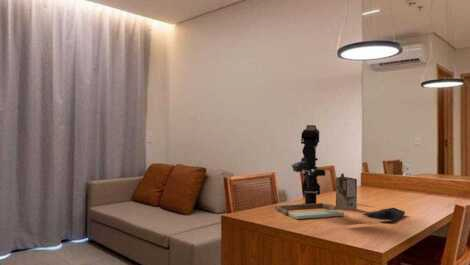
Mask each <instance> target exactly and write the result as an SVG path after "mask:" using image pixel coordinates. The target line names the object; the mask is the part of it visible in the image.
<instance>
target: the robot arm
mask: <svg viewBox="0 0 470 265" xmlns="http://www.w3.org/2000/svg"><path fill="white" fill-rule="evenodd" d="M300 136H301V137H300V138H301V140H300V144H301V145H303V147H302V150H301V151H302V154H303V157H301V159H300V160H301V161H298V162H295V163H292V164H291V167H292V170H293V172H296V173H300V175H302V176H303V177H304V178H303V182H301V183H302V185H301V186H302V187H301V188H302V189H301V191H302V195H304V202H303V203H302V204H315V203H317V196H319V195H321V185H320V184H319V182H318V177H325V176H326V170H325V169H322V168H319V167H318V166H317V161H318V157H317V147H318V145H319V143H320V130H319V129H318V128H317V125H315V124H307V125H306V128H304V129H303V130H302V131H301V135H300Z"/></svg>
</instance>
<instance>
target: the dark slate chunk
mask: <svg viewBox="0 0 470 265" xmlns="http://www.w3.org/2000/svg"><path fill="white" fill-rule="evenodd" d="M405 214H406V211H404V210H401V209H398V208H396V207H389V208H382V209H380V210H375V211H371V212H370V211H369V212H366V213H363V214H362V215H363V216H366V217H368V218H371V219H375V220H381V223H382V224H390V225H391V224H394V223H396V222H398V221H399V220H400V219H401V218H402V217H403V216H404V215H405ZM399 218H400V219H399ZM382 220H385V221H382Z"/></svg>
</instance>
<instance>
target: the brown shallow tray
mask: <svg viewBox="0 0 470 265" xmlns="http://www.w3.org/2000/svg"><path fill="white" fill-rule="evenodd" d="M318 208H321V209H323V210H337V207H336V206H335V207H334V206H332V205H328V204H326V203H323V202H316V203H315V204H301V203H298V204H286V205H285V204H283V205H282V204H281V205H274V211H277V213H280V214H282V215H283V216H288V213H289V211H291V210H305V209H306V210H307V209H318ZM288 210H289V211H288Z"/></svg>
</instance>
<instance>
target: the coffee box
mask: <svg viewBox="0 0 470 265" xmlns="http://www.w3.org/2000/svg"><path fill="white" fill-rule="evenodd" d="M357 181H358V179H357V178H353V177H348V176H344V177H340V176H336V177H335V200H336V202H335V207H336V208H339V209H343V210H346V211H348V210H357V205H358V204H357V203H358V202H357V199H358V197H357V196H358V194H357V192H358V191H357V190H358V187H357V186H358V184H357V183H358V182H357Z"/></svg>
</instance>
